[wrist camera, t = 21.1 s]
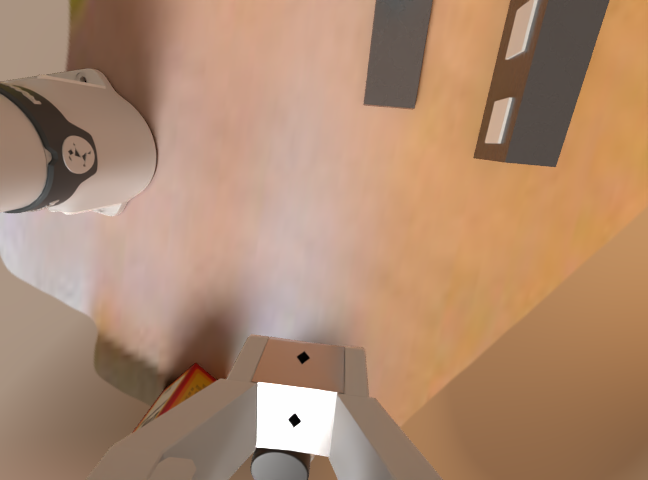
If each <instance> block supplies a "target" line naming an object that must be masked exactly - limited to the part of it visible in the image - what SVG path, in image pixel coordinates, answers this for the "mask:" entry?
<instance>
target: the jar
mask: <svg viewBox="0 0 648 480" xmlns="http://www.w3.org/2000/svg"><path fill="white" fill-rule="evenodd" d="M313 458H314V454H310V453H304V452H298V451H293V450H283V449H273V448H264V447H256V449H255V451H254V454H253V458H252V463H251V474H252V476H253V478H254V480H308V477H309V469H310V462H311V461H312V460H313Z"/></svg>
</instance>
